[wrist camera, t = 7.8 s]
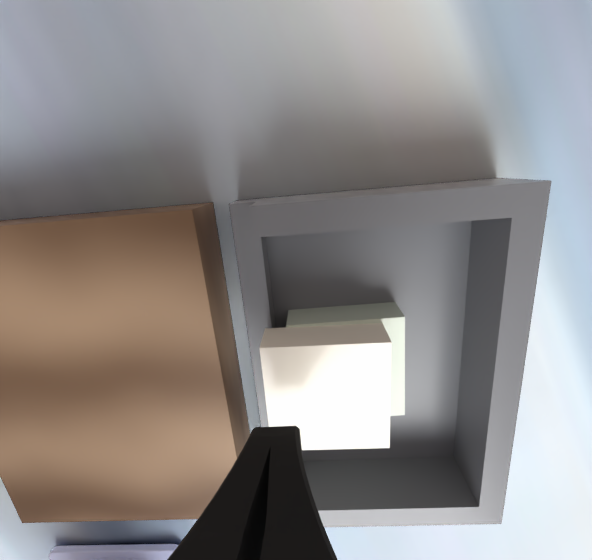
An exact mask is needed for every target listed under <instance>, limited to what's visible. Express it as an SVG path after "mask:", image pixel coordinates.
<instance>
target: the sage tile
mask: <svg viewBox="0 0 592 560" xmlns="http://www.w3.org/2000/svg"><path fill="white" fill-rule="evenodd" d="M370 323H383V325H384V327H385V329H386V331H387V333H388V335H389V338H390V340H391V342H392V354H391V406H390V416H398V415H405V316H404V315H403V313H402V311H401V310H400V308H399V307H398V305H397V304H396V302H387V303H374V304H360V305H347V306H334V307H321V308H308V309H295V310H288V317H287V323H286V327H306V326H328V325H349V324H370Z"/></svg>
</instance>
